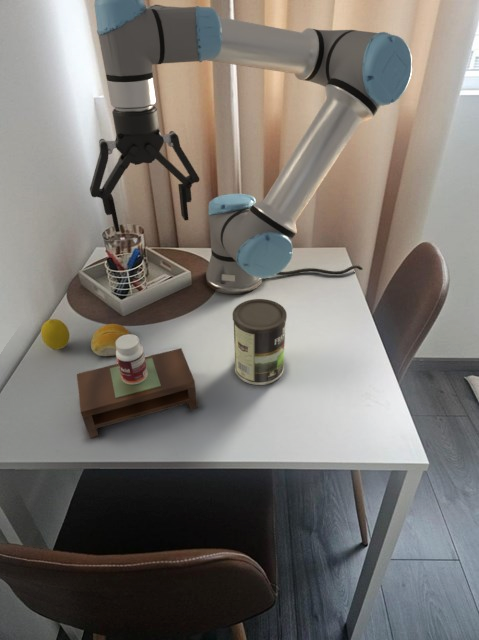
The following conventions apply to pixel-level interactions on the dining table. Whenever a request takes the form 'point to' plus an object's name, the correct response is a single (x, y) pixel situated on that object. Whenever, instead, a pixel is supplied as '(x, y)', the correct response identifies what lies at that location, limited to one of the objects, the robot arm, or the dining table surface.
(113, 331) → the bread roll
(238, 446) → the dining table surface
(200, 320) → the dining table surface
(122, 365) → the pill bottle
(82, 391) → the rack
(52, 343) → the lemon
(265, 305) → the coffee can
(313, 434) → the dining table surface
